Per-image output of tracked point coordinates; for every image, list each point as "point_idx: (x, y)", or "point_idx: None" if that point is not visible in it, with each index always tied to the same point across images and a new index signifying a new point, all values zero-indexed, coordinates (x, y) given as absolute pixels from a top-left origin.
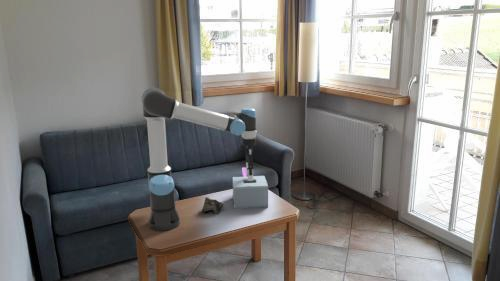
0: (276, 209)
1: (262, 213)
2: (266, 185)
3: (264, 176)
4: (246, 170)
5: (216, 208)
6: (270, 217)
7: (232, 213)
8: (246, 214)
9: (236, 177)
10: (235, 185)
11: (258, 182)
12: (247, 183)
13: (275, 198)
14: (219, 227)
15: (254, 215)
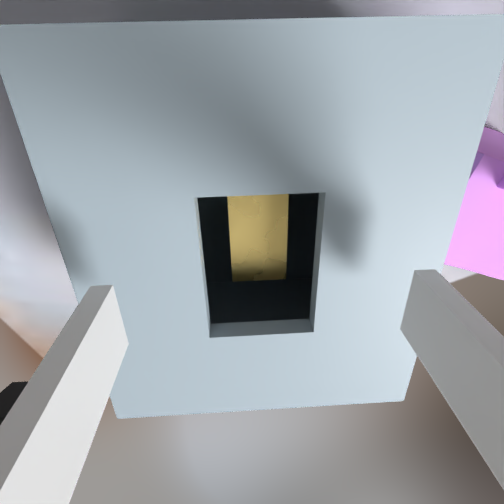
0: None
1: (53, 255)
2: (124, 408)
3: (380, 400)
4: (446, 308)
5: None
6: (2, 293)
7: (4, 22)
8: (12, 149)
9: (466, 92)
10: (83, 60)
11: (211, 353)
12: (180, 245)
13: None
14: None
15: (8, 204)
